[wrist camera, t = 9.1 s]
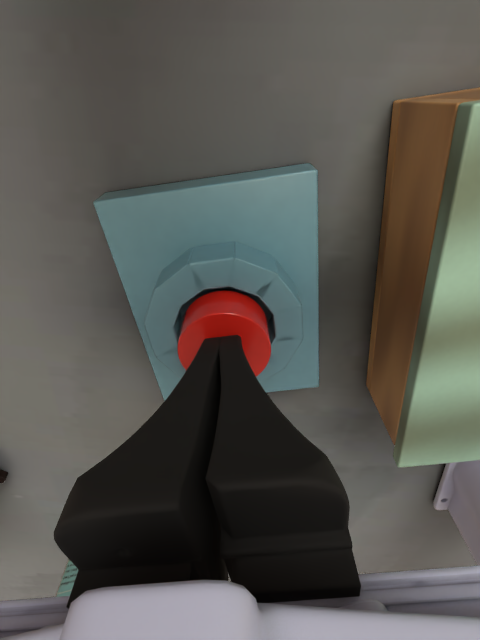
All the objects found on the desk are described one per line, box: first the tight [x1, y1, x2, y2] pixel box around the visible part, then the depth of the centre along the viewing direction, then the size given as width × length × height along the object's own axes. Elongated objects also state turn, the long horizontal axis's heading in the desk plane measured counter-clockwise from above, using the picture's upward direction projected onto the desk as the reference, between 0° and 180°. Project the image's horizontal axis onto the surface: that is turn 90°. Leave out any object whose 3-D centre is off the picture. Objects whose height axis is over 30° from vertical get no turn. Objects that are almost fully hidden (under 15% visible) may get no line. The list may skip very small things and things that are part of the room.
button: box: [177, 290, 271, 377], centre depth 14 cm, size 4×4×2 cm
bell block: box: [93, 163, 319, 401], centre depth 16 cm, size 11×8×3 cm
